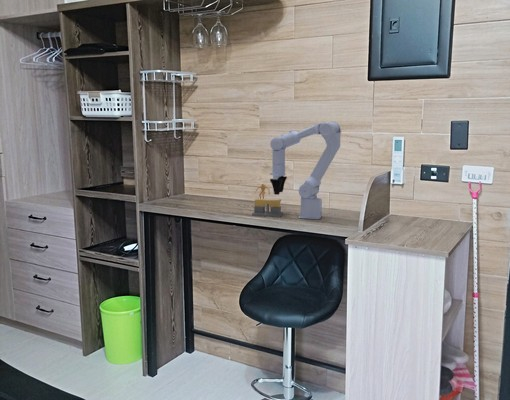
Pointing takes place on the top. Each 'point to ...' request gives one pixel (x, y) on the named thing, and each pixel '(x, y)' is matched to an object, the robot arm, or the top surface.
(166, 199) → the top surface
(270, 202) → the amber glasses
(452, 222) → the top surface
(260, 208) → the display stand
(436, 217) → the top surface
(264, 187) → the figurine
